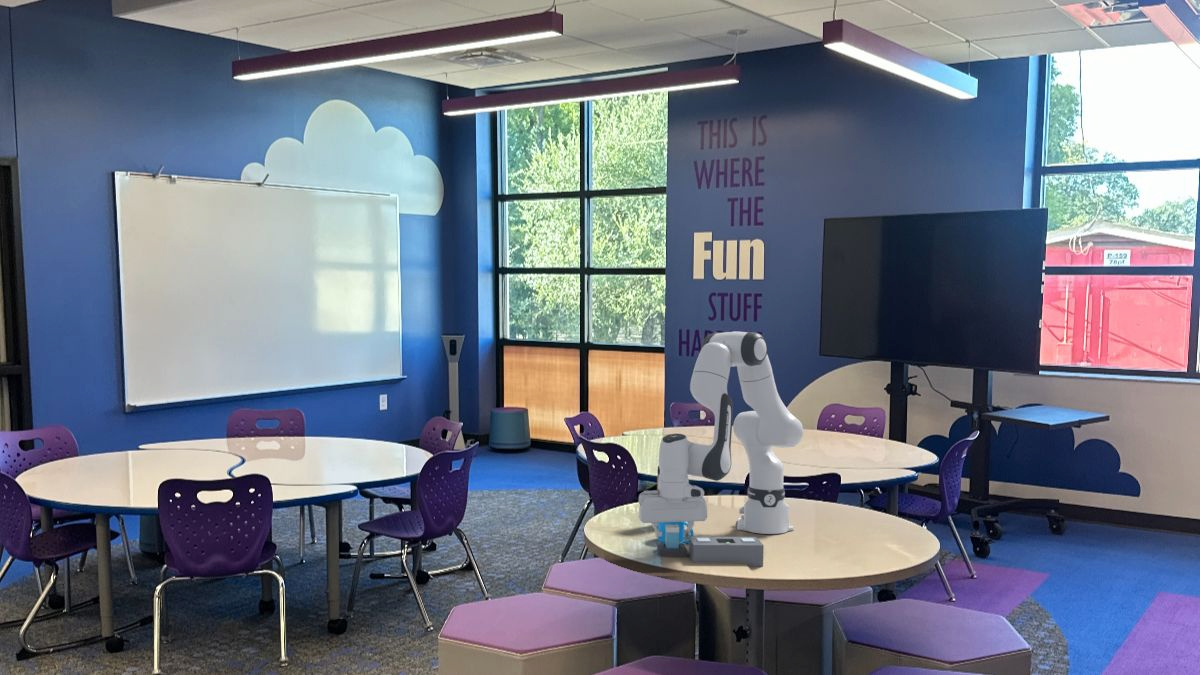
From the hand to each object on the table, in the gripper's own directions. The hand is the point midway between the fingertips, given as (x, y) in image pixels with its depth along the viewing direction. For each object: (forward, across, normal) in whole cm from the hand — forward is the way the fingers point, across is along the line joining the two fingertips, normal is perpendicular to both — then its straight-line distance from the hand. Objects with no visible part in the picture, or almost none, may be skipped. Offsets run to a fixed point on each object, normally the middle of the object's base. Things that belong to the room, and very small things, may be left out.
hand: (672, 536), depth 284 cm
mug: (+6, +5, +14) cm, 17 cm away
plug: (+5, 0, 0) cm, 5 cm away
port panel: (+6, +14, -7) cm, 17 cm away
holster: (+6, 0, 0) cm, 6 cm away
